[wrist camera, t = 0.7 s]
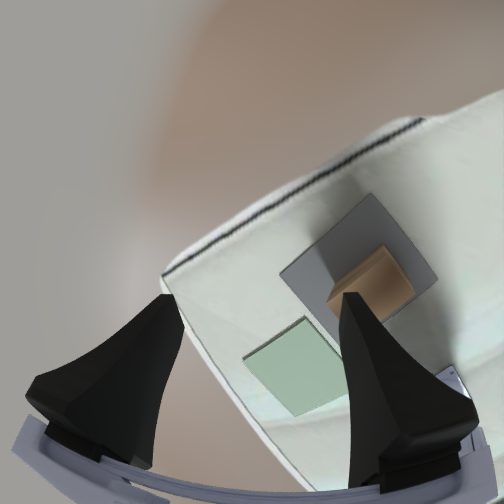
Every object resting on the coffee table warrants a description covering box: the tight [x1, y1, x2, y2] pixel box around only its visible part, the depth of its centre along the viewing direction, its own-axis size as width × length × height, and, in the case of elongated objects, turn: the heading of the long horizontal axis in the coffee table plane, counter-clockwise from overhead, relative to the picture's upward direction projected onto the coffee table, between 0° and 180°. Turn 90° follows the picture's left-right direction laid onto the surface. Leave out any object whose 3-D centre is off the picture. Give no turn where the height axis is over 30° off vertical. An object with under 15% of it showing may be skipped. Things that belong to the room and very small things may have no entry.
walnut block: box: [326, 244, 416, 321], centre depth 25 cm, size 4×7×6 cm, turn 135°
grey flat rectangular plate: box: [279, 193, 438, 346], centre depth 28 cm, size 12×14×1 cm
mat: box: [242, 318, 349, 417], centre depth 33 cm, size 12×12×1 cm
